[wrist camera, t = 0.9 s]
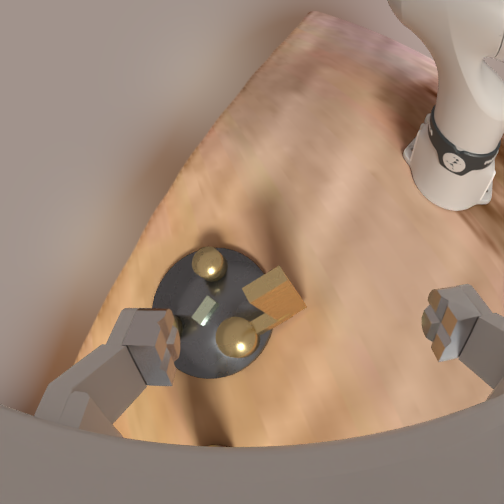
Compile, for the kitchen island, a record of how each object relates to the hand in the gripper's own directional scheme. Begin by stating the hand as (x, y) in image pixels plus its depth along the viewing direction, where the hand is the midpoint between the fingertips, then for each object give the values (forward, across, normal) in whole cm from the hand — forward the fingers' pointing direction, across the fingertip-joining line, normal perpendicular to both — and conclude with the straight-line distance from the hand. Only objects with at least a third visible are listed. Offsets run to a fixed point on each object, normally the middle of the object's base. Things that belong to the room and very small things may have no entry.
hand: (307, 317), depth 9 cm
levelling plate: (+32, +11, +28) cm, 43 cm away
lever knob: (+27, +2, +27) cm, 38 cm away
